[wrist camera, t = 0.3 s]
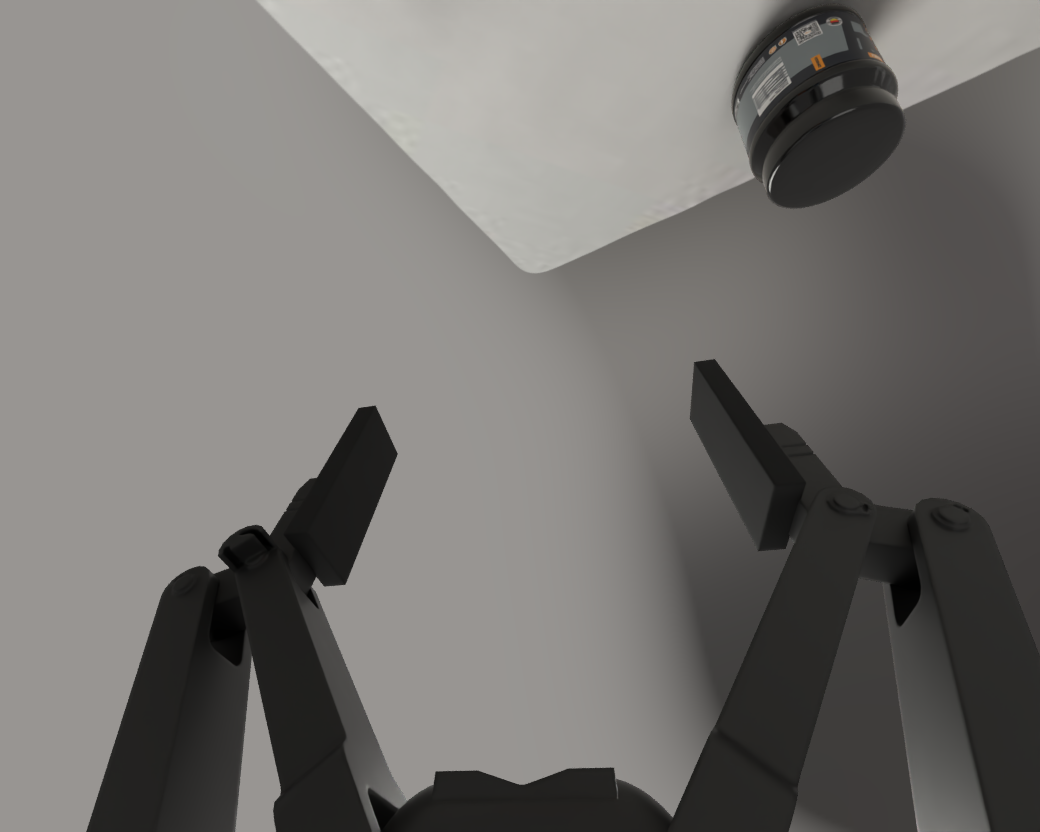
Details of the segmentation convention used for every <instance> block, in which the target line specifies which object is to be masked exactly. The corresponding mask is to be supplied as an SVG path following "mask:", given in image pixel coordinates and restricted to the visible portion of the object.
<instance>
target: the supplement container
mask: <svg viewBox="0 0 1040 832" xmlns="http://www.w3.org/2000/svg"><path fill="white" fill-rule="evenodd" d="M897 96H898V82H897V79H896V76H895V74H894V72H893V71H892V69H891V68H890V67H889V66H888V65H886V64H885V62H884V60H883V58H882V56H881V55H880V53H879V51H878V49H877V48H876V46H875V44H874V42H873V40H872V39H871V37H870V35H869V33H868V32H867V30H866V26H865V24H864V21H863V20H862V18H861V16H860V15H859V14H858V13H857V12H856V11H855V10H854V9H852V8H850V7H848V6H845V5H841V4H824V5H819V6H816V7H813V8H810V9H807V10H805V11H803V12H800V13H799V14H797V15H795V16H793V17H791V18H790V19H788V20H787V21H785V22H784V23H782V24H781V25H780V26H778V27H777V28H776V29H775V30H773V31H772V32H771V33H770V34H769V35H768V36H767V37H766V38H765V39H764V40H763V41H762V42H761V43H760V44H759V45H758V46H757V47H756V49H755V50H754V51H753V52H752V54H751V55H750V56H749V58H748V59H747V61H746V62H745V64H744V66H743V67H742V69H741V71H740V73H739V75H738V78H737V80H736V83H735V86H734V89H733V94H732V102H731V103H732V114H733V117H734V120H735V122H736V124H737V126H738V128H739V131H740V134H741V137H742V140H743V143H744V145H745V148H746V151H747V154H748V157H749V164H750V168H751V171H752V173H753V175H754V176H755V177H756V179H757V180H759V181H760V182H761V183H763V184H764V187H765V190H766V192H767V195H768V197H769V199H770V200H771V201H772V202H773V203H774V204H776V205H777V206H780V207H783V208H791V209H795V208H805V207H809V206H814V205H817V204H820V203H823V202H826V201H828V200H831V199H833V198H835V197H838V196H839V195H841V194H843V193H845V192H847V191H849V190H850V189H852V188H854V187H855V186H857V185H858V184H860V183H861V182H862V181H864V180H865V179H866V178H868V177H869V176H870V175H871V174H872V173H874V172H875V171H876V170H877V169H878V168H879V167H880V166H881V165H882V164H883V163H884V162H885V161H886V160H887V159H888V158H889V157H890V155H891V154H892V153H893V152H894V150H895V149H896V147H897V146H898V144H899V142H900V140H901V138H902V136H903V134H904V130H905V126H906V118H905V114H904V112H903V110H902V108H901V106H900V104H899V103H898V101H897Z"/></svg>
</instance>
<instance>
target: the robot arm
mask: <svg viewBox="0 0 1040 832" xmlns="http://www.w3.org/2000/svg"><path fill="white" fill-rule="evenodd" d="M690 420H691V422H692V424H693V426H694V428H695V430H696V431H697V433H698V435H699V437H700V439H701V441H702V443H703V445H704V447H705V449H706V451H707V453H708V455H709V457H710V459H711V461H712V462H713V464H714V466H715V468H716V470H717V472H718V474H719V476H720V478H721V480H722V482H723V484H724V486H725V487H726V490H727V492H728V493H729V495H730V497H731V499H732V501H733V503H734V505H735V507H736V509H737V511H738V513H739V515H740V517H741V519H742V521H743V522H744V525H745V526H746V528H747V530H748V532H749V534H750V536H751V538H752V540H753V542H754V544H755V546H756V548H757V550H758V551H765V550H777V549H786V546H787V543H788V540H789V536H790V537H791V539H792V541H793V542H794V545H793V548H792V550H791V552H790V555H789V557H788V559H787V561H786V564H785V566H784V568H783V571H782V573H781V575H780V578H779V580H778V582H777V585H776V587H775V589H774V592H773V594H772V596H771V598H770V601H769V603H768V605H767V608H766V610H765V612H764V615H763V617H762V619H761V621H760V624H759V626H758V629H757V631H756V633H755V635H754V638H753V640H752V642H751V645H750V647H749V649H748V651H747V654H746V656H745V658H744V661H743V663H742V666H741V668H740V670H739V672H738V675H737V677H736V679H735V682H734V684H733V686H732V688H731V691H730V693H729V695H728V698H727V700H726V702H725V705H724V707H723V709H722V712H721V714H720V716H719V718H718V721H717V723H716V725H715V727H714V728H713V730H712V731H711V733H710V735H709V737H708V739H707V741H706V744H705V746H704V748H703V750H702V753H701V755H700V757H699V760H698V762H697V764H696V767H695V769H694V771H693V773H692V776H691V778H690V781H689V782H688V785H687V787H686V789H685V792H684V794H683V796H682V798H681V801H680V803H679V805H678V808H677V810H676V812H675V815H674V817H672V816H670V814H669V813H668V812H667V811H666V810H665V809H664V808H663V807H662V806H661V805H660V804H659V803H658V802H657V801H655V800H654V799H653V798H652V797H651V796H650V795H648V794H647V793H645V792H644V791H642V790H640V789H639V788H637V787H635V786H633V785H631V784H629V783H627V782H624V781H621V780H618V779H615V773H614V768H578V769H566V770H564V771H561V772H558V773H556V774H553V775H550V776H548V777H545V778H542V779H539V780H537V781H534V782H531V783H528V784H525V785H519V784H515V783H512V782H509V781H506V780H504V779H501V778H497V777H495V776H492V775H489V774H486V773H483V772H480V771H443V772H436V773H435V780H434V785H432V786H429V787H428V788H426V789H424V790H422V791H421V792H419V793H418V794H416V795H415V796H414V797H412V798H411V799H409V800H408V801H407V800H406V798H405V796H404V795H403V793H402V791H401V790H400V788H399V787H398V785H397V784H396V782H395V780H394V779H393V777H392V775H391V772H390V771H389V768H388V766H387V763H386V761H385V758H384V756H383V754H382V751H381V749H380V746H379V744H378V741H377V739H376V737H375V734H374V732H373V729H372V727H371V724H370V722H369V720H368V717H367V715H366V713H365V710H364V708H363V705H362V703H361V700H360V698H359V696H358V693H357V691H356V688H355V686H354V683H353V681H352V679H351V676H350V674H349V672H348V669H347V667H346V664H345V662H344V659H343V657H342V654H341V652H340V650H339V647H338V645H337V642H336V640H335V638H334V635H333V633H332V630H331V628H330V625H329V623H328V621H327V618H326V616H325V614H324V611H323V609H322V606H321V604H320V601H319V599H318V596H317V594H316V592H315V591H314V590H313V588H312V587H311V586H312V584H313V582H314V580H315V578H316V577H317V578H318V579H319V580H320V582H321V583H322V584H323V586H335V585H345V584H346V582H347V579H348V577H349V574H350V572H351V569H352V567H353V564H354V562H355V559H356V557H357V554H358V552H359V549H360V547H361V544H362V542H363V539H364V537H365V534H366V532H367V529H368V527H369V524H370V522H371V519H372V517H373V514H374V512H375V509H376V507H377V504H378V502H379V499H380V497H381V494H382V492H383V489H384V487H385V484H386V482H387V479H388V477H389V474H390V472H391V469H392V467H393V464H394V462H395V459H396V457H397V451H396V449H395V447H394V445H393V443H392V441H391V439H390V436H389V434H388V432H387V430H386V427H385V425H384V423H383V421H382V419H381V417H380V414H379V413H378V410H377V408H376V406H370V407H363V408H358V410H357V412H356V414H355V415H354V417H353V419H352V420H351V422H350V424H349V425H348V427H347V428H346V430H345V432H344V434H343V435H342V437H341V439H340V440H339V442H338V444H337V445H336V447H335V449H334V450H333V452H332V454H331V455H330V457H329V459H328V461H327V462H326V464H325V466H324V467H323V469H322V470H321V472H320V474H319V476H318V477H317V478H313V479H309V480H308V481H307V482H306V483H305V484H304V485H303V486H302V487H301V488H300V489H299V490H298V492H297V493H296V495H295V496H294V498H293V500H292V503H290V504H289V506H288V508H287V509H286V510H287V511H286V512H284V514H283V515H282V517H281V519H280V520H279V522H278V523H277V525H276V527H275V528H274V530H273V531H272V533H271V535H270V536H269V535H268V533H267V532H266V531H265V530H264V529H263V527H262V526H258V525H252V526H247V527H245V528H243V529H241V530H239V531H237V532H235V533H234V534H233V535H231V536H230V537H229V538H228V539H227V540H226V541H225V542H224V543H223V544H222V546H221V548H220V549H219V554H218V556H219V558H221V560H222V561H223V562H224V563H225V564H226V565H227V566H228V567H229V569H226V570H223V571H221V572H218V573H215V574H213V573H211V572H210V570H208V569H207V568H206V567H204V566H203V567H201V566H198V567H194V568H191V569H189V570H187V571H185V572H183V573H182V574H180V575H179V576H177V577H176V578H175V579H174V580H172V581H171V583H170V584H169V585H168V586H167V587H166V588H165V590H164V592H163V594H162V596H161V599H160V602H159V605H158V608H157V611H156V614H155V618H154V621H153V624H152V627H151V630H150V634H149V637H148V640H147V643H146V646H145V649H144V652H143V655H142V658H141V662H140V665H139V668H138V671H137V674H136V677H135V681H134V684H133V687H132V690H131V693H130V696H129V699H128V703H127V706H126V709H125V712H124V715H123V718H122V721H121V725H120V728H119V731H118V734H117V737H116V740H115V744H114V747H113V750H112V753H111V756H110V759H109V762H108V766H107V769H106V772H105V775H104V779H103V782H102V784H101V787H100V791H99V794H98V797H97V800H96V803H95V807H94V810H93V813H92V816H91V819H90V822H89V825H88V829H87V832H235V827H236V816H237V805H238V795H239V785H240V774H241V763H242V753H243V742H244V732H245V721H246V711H247V700H248V690H249V679H250V668H251V657H253V662H254V666H255V671H256V675H257V680H258V685H259V689H260V694H261V698H262V703H263V707H264V712H265V717H266V721H267V726H268V730H269V735H270V740H271V744H272V749H273V753H274V758H275V763H276V767H277V772H278V776H279V781H280V786H281V795H280V797H279V798H278V799H277V800H276V801H275V803H274V810H273V812H274V822H275V826H276V832H788V831H789V828H790V824H791V821H792V817H793V814H794V810H795V805H796V801H797V796H798V783H799V779H800V775H801V771H802V768H803V765H804V761H805V758H806V754H807V751H808V748H809V744H810V740H811V737H812V734H813V731H814V727H815V724H816V720H817V717H818V714H819V710H820V707H821V704H822V700H823V697H824V693H825V690H826V686H827V683H828V679H829V676H830V673H831V670H832V666H833V662H834V659H835V656H836V653H837V649H838V646H839V642H840V639H841V635H842V632H843V629H844V625H845V622H846V619H847V615H848V611H849V608H850V605H851V601H852V598H853V595H854V591H855V588H856V585H857V581H858V578H861V579H866V580H871V581H876V582H882V585H883V591H884V598H885V606H886V612H887V620H888V626H889V633H890V640H891V648H892V655H893V662H894V669H895V676H896V683H897V690H898V697H899V704H900V711H901V718H902V725H903V731H904V739H905V746H906V753H907V760H908V767H909V774H910V781H911V788H912V795H913V802H914V809H915V816H916V823H917V830H918V832H1040V656H1039V653H1038V650H1037V648H1036V645H1035V642H1034V640H1033V637H1032V635H1031V632H1030V630H1029V627H1028V624H1027V622H1026V619H1025V617H1024V614H1023V611H1022V609H1021V606H1020V604H1019V601H1018V599H1017V596H1016V594H1015V591H1014V588H1013V586H1012V583H1011V581H1010V578H1009V575H1008V573H1007V570H1006V568H1005V565H1004V563H1003V560H1002V557H1001V555H1000V552H999V550H998V547H997V544H996V542H995V539H994V537H993V534H992V532H991V529H990V526H989V525H988V523H987V522H986V521H985V519H984V518H983V517H982V516H981V515H979V514H978V513H977V512H976V511H974V510H973V509H971V508H969V507H967V506H965V505H963V504H960V503H958V502H954V501H951V500H947V499H939V498H929V499H924V500H921V501H920V502H919V503H918V504H916V506H915V508H914V510H908V509H900V508H892V507H885V506H879V505H875V504H873V503H872V501H871V500H869V499H868V498H867V497H866V496H864V495H863V494H861V493H859V492H857V491H855V490H852V489H849V488H844V487H842V486H841V485H840V483H839V482H838V481H837V480H836V479H835V478H834V476H833V475H832V474H831V473H830V471H829V470H828V469H827V468H826V467H825V466H824V464H823V463H822V462H821V461H820V460H819V458H818V457H817V456H816V455H815V454H813V451H812V450H811V449H810V447H809V446H808V445H806V443H805V441H804V440H803V439H802V438H801V437H800V435H799V434H798V433H797V432H796V431H794V430H793V429H791V428H789V427H788V426H786V425H784V424H783V423H777V424H768V425H763V424H762V422H761V421H760V419H759V418H758V417H757V416H756V414H755V413H754V411H753V410H752V409H751V407H750V406H749V405H748V403H747V402H746V401H745V399H744V398H743V397H742V395H741V394H740V393H739V391H738V390H737V389H736V387H735V386H734V385H733V383H732V382H731V380H730V379H729V378H728V376H727V375H726V374H725V372H724V371H723V370H722V368H721V367H720V366H719V364H718V363H717V362H716V360H715V359H713V360H706V361H699V362H694V373H693V385H692V399H691V412H690ZM616 785H617V786H616Z"/></svg>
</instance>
